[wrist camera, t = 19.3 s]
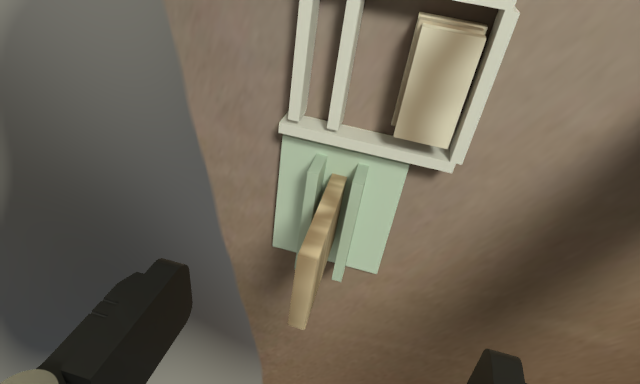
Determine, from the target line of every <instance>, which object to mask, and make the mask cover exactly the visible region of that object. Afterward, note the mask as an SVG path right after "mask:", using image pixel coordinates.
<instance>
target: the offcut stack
mask: <svg viewBox="0 0 640 384" xmlns="http://www.w3.org/2000/svg"><path fill="white" fill-rule="evenodd" d="M487 28H488V27H487V25H486V24H483V23H477V22H472V21H467V20H462V19H456V18H451V17H446V16H441V15H435V14H430V13H425V12H419V16H418V20H417V23H416V27H415V31H414V35H413V39H412V43H411V47H410V51H409V55H408V59H407V63H406V67H405V71H404V75H403V79H402V83H401V87H400V90H399V94H398V98H397V102H396V106H395V110H394V114H393V118H392V122H391V125H392V126H396V127H395V131H394V136H393V137H396V138H400V139H404V140H409V141H413V142H418V143H422V144H426V145H431V146H435V147H439V148H444V149H448V147H449V144H450V141H451V138H452V136H453V133H454V130H455V127H456V124H457V121H458V119H459V116H460V113H461V110H462V107H463V104H464V102H465V99H466V96H467V93H468V90H469V87H470V85H471V82H472V79H473V76H474V73H475V70H476V67H477V65H478V62H479V59H480V56H481V53H482V50H483V48H484V45H485V42H486V36H485V34H486V31H487Z"/></svg>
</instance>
